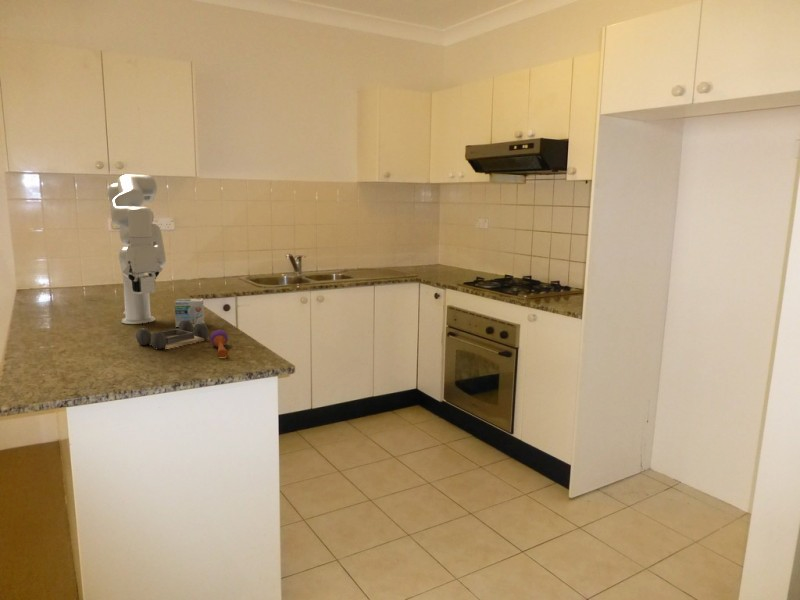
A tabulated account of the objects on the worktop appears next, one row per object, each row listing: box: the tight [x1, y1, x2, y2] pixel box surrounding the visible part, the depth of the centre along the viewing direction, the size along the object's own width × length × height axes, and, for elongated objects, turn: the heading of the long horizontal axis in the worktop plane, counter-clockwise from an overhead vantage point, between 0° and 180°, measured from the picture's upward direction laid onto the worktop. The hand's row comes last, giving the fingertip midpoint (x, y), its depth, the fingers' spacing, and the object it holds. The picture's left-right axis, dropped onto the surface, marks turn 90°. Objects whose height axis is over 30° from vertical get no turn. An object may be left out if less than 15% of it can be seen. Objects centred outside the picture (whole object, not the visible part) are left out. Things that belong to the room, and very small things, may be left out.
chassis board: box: [135, 320, 209, 350], centre depth 206 cm, size 16×19×6 cm
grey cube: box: [133, 274, 157, 294], centre depth 212 cm, size 6×6×6 cm
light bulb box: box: [174, 298, 205, 328], centre depth 232 cm, size 11×7×11 cm, turn 105°
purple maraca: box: [209, 329, 229, 358], centre depth 195 cm, size 6×6×20 cm
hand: (144, 290), depth 213 cm, fingers closed on grey cube, 5 cm apart
